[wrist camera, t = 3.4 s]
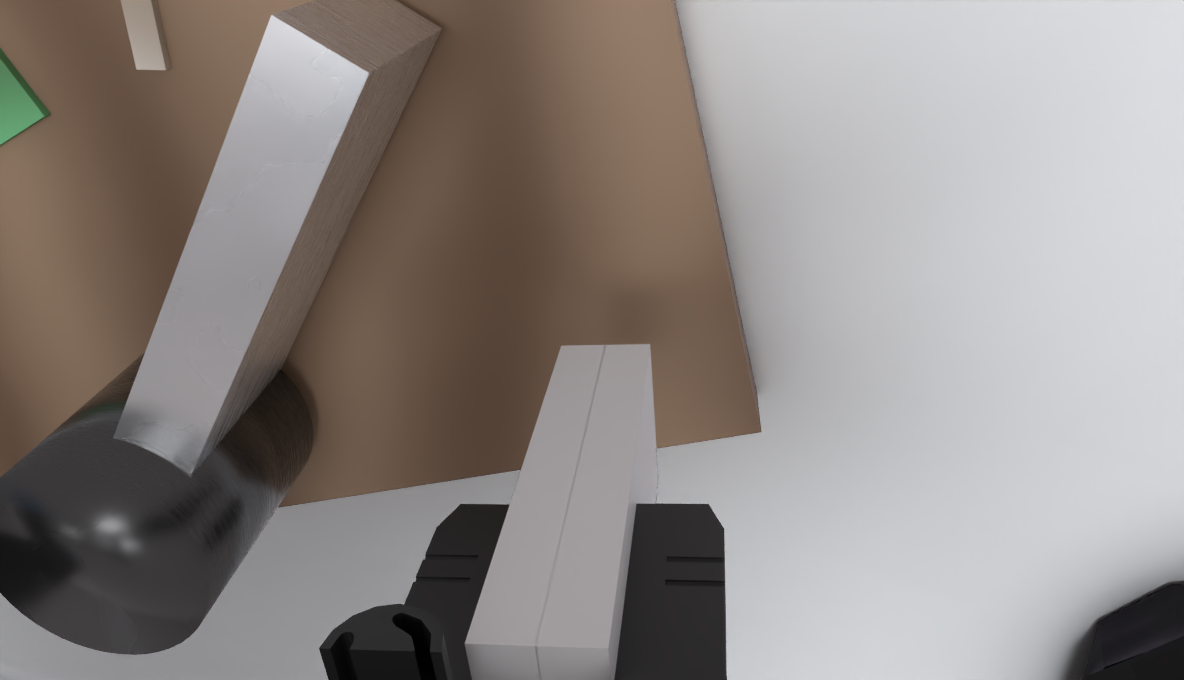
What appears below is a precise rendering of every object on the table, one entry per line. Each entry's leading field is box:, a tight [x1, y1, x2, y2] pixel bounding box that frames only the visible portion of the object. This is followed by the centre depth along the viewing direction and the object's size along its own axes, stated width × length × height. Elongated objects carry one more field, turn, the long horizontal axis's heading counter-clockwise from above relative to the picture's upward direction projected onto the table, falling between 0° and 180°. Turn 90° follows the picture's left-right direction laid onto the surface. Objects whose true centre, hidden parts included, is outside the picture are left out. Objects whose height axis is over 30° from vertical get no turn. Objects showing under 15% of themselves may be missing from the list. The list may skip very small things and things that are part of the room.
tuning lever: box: [0, 0, 442, 655], centre depth 17 cm, size 13×4×5 cm, turn 150°
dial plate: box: [0, 0, 761, 507], centre depth 20 cm, size 24×14×2 cm, turn 105°
